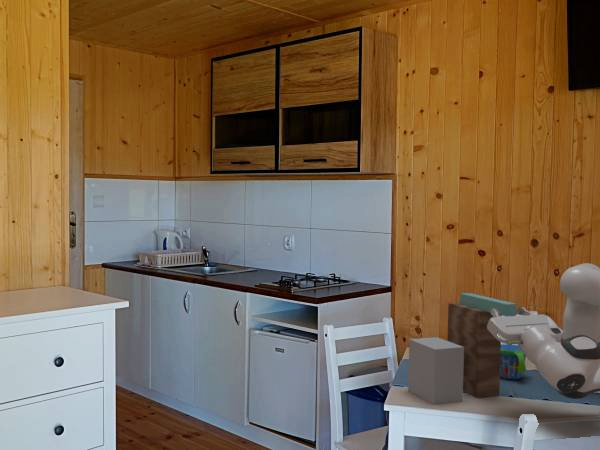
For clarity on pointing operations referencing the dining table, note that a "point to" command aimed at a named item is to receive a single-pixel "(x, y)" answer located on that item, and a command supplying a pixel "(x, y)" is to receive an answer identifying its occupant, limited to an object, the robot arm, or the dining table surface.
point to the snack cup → (511, 362)
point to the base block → (436, 370)
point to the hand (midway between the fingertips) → (506, 309)
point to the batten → (488, 304)
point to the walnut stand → (476, 349)
